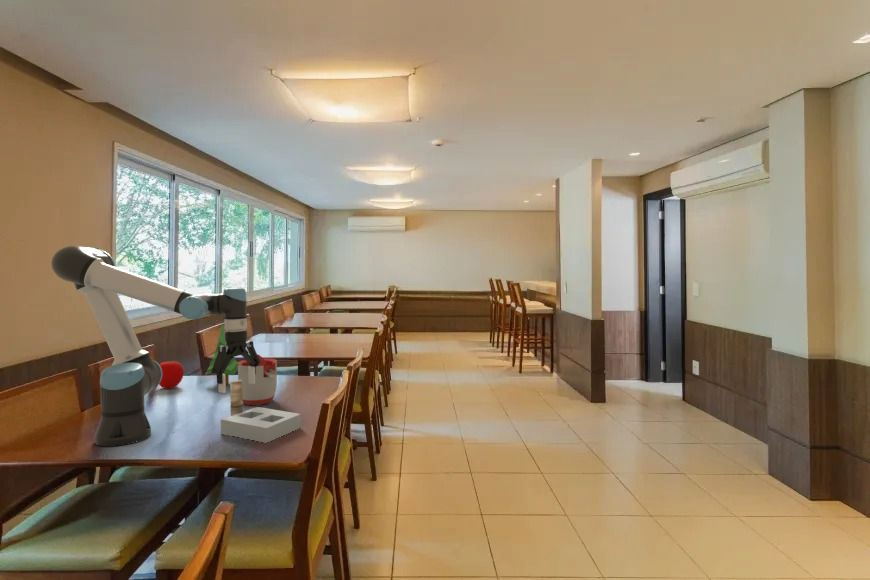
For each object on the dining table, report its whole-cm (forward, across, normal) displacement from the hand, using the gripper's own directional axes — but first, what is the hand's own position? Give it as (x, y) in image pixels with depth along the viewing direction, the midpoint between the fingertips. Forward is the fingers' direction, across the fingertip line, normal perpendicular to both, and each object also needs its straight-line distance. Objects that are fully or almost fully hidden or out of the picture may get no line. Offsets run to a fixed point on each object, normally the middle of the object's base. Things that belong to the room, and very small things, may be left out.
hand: (237, 387), depth 169 cm
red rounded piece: (+11, +20, +64) cm, 68 cm away
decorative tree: (+11, +35, +48) cm, 60 cm away
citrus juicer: (+12, +20, +10) cm, 25 cm away
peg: (+12, 0, 0) cm, 12 cm away
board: (+12, -6, -18) cm, 22 cm away
